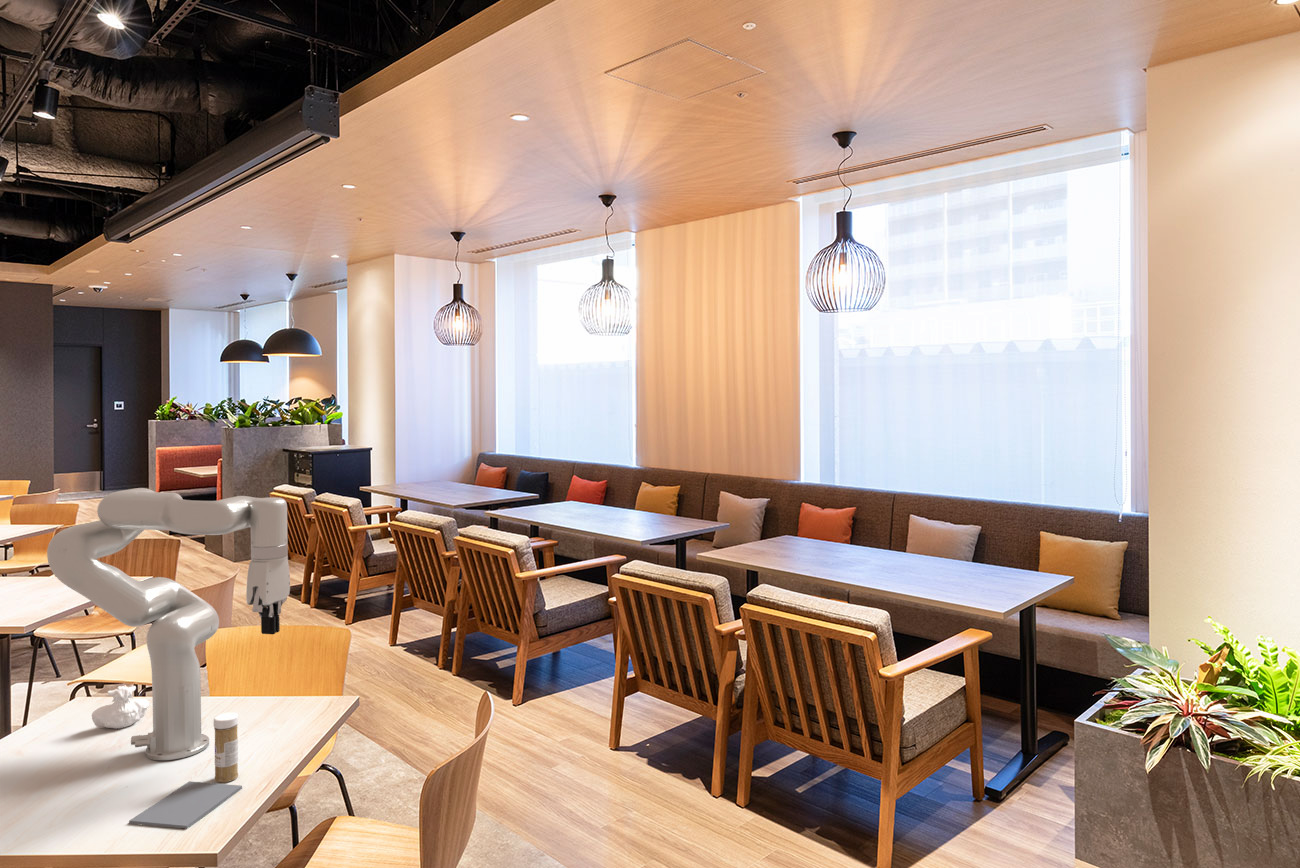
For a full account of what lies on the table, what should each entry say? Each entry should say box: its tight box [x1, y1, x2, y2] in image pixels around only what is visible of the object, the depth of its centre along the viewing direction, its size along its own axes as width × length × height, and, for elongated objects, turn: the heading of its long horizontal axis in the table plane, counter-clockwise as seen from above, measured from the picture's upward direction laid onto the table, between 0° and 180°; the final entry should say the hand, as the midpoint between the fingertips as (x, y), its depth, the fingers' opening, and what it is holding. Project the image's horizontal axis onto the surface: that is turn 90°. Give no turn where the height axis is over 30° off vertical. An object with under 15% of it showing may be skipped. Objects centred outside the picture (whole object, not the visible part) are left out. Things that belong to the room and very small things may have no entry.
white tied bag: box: [91, 684, 150, 730], centre depth 198 cm, size 12×8×11 cm
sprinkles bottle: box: [213, 712, 239, 784], centre depth 171 cm, size 5×5×14 cm
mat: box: [128, 780, 243, 830], centre depth 160 cm, size 16×12×1 cm
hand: (270, 632), depth 184 cm, fingers closed
